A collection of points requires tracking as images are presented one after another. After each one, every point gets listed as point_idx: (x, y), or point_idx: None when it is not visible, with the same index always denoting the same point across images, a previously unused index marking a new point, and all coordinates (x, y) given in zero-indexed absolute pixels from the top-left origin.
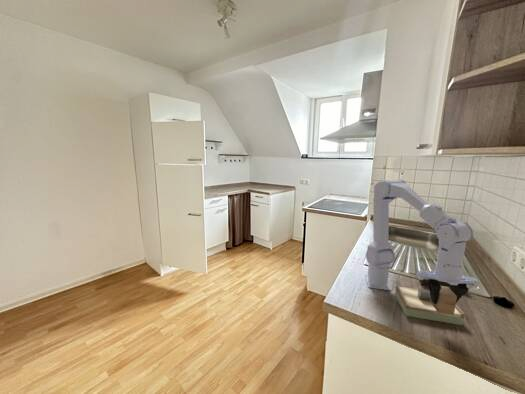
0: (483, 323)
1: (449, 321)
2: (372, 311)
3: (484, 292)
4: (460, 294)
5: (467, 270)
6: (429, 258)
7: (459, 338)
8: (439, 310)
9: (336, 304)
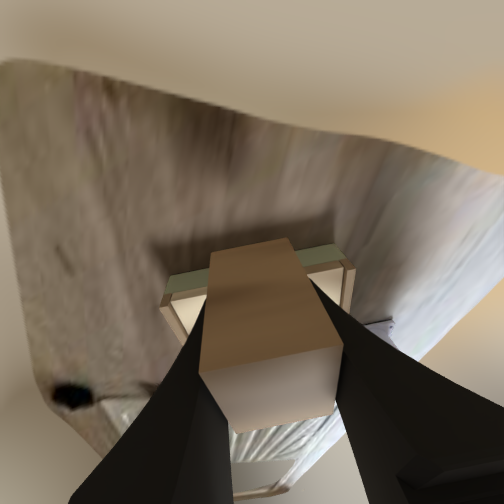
0: (114, 308)
1: (206, 271)
2: (440, 215)
3: (111, 408)
4: (165, 410)
5: None
6: None
7: (187, 204)
8: (284, 245)
9: None
